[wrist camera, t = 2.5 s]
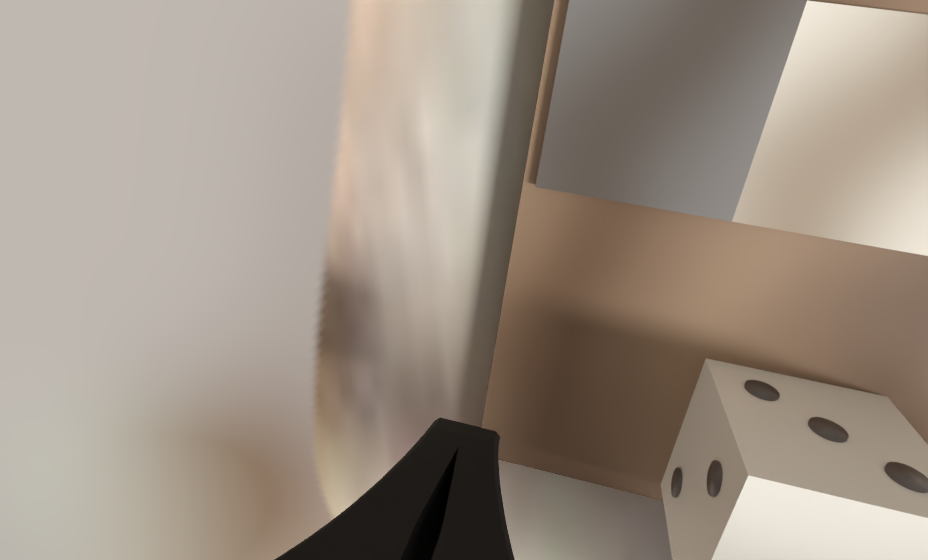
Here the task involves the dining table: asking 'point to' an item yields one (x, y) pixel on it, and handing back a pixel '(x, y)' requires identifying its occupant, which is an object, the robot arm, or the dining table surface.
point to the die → (794, 472)
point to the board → (712, 221)
